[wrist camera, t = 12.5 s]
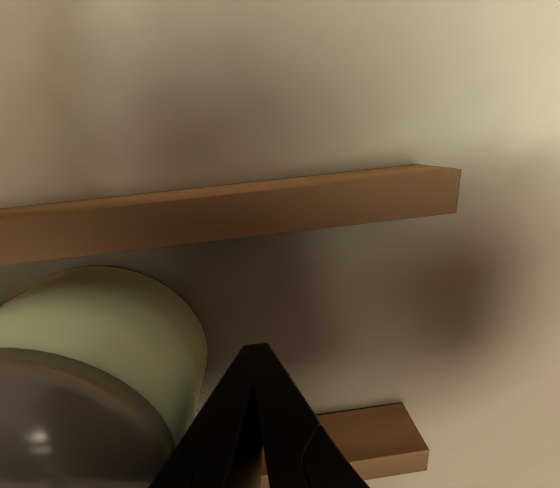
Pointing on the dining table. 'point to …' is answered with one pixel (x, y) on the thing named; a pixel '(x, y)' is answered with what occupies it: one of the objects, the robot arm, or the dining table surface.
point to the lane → (246, 223)
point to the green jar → (96, 379)
